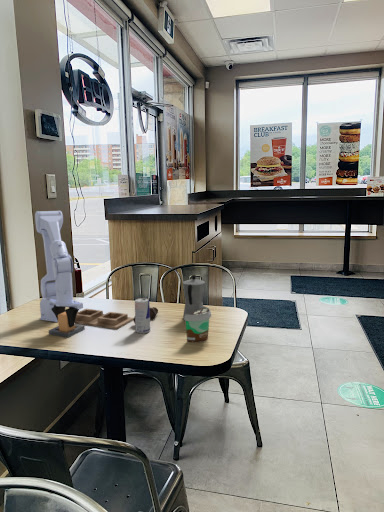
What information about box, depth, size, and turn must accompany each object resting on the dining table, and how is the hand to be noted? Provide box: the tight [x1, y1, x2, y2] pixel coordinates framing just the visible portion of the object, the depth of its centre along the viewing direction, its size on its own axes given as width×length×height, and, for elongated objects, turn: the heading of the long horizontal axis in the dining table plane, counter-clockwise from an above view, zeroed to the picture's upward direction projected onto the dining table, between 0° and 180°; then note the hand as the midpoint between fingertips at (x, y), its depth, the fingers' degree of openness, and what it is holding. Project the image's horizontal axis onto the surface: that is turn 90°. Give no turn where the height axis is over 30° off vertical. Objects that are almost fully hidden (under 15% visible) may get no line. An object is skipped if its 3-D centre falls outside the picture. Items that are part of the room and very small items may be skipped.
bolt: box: [133, 307, 159, 324], centre depth 155 cm, size 6×5×15 cm
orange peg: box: [57, 312, 76, 332], centre depth 142 cm, size 4×4×7 cm
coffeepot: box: [182, 274, 206, 320], centre depth 155 cm, size 15×9×18 cm, turn 168°
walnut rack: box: [75, 308, 134, 330], centre depth 155 cm, size 24×12×3 cm, turn 67°
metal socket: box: [48, 323, 86, 339], centre depth 143 cm, size 9×9×2 cm
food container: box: [183, 305, 212, 343], centre depth 134 cm, size 12×6×10 cm, turn 148°
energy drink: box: [134, 297, 151, 334], centre depth 142 cm, size 5×5×12 cm
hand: (66, 325), depth 142 cm, fingers closed on orange peg, 4 cm apart
